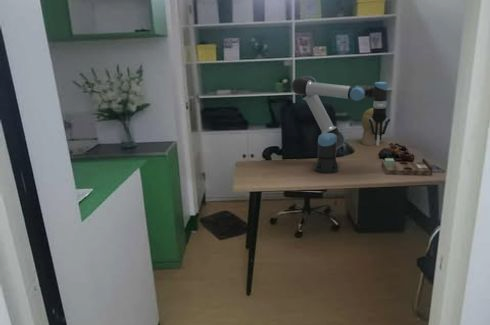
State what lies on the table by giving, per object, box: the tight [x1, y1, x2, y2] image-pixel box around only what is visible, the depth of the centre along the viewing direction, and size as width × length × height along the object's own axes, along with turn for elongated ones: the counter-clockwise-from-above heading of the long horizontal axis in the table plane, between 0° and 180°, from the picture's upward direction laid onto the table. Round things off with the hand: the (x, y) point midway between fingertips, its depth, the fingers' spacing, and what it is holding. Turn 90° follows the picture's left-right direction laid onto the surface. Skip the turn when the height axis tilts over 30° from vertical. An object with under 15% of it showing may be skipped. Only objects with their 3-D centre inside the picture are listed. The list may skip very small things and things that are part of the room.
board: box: [381, 158, 433, 176], centre depth 228 cm, size 26×19×6 cm
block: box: [384, 158, 395, 167], centre depth 230 cm, size 5×5×4 cm
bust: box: [361, 107, 384, 146], centre depth 297 cm, size 18×18×30 cm
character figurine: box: [377, 142, 416, 162], centre depth 249 cm, size 17×11×28 cm
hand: (377, 144), depth 228 cm, fingers closed
